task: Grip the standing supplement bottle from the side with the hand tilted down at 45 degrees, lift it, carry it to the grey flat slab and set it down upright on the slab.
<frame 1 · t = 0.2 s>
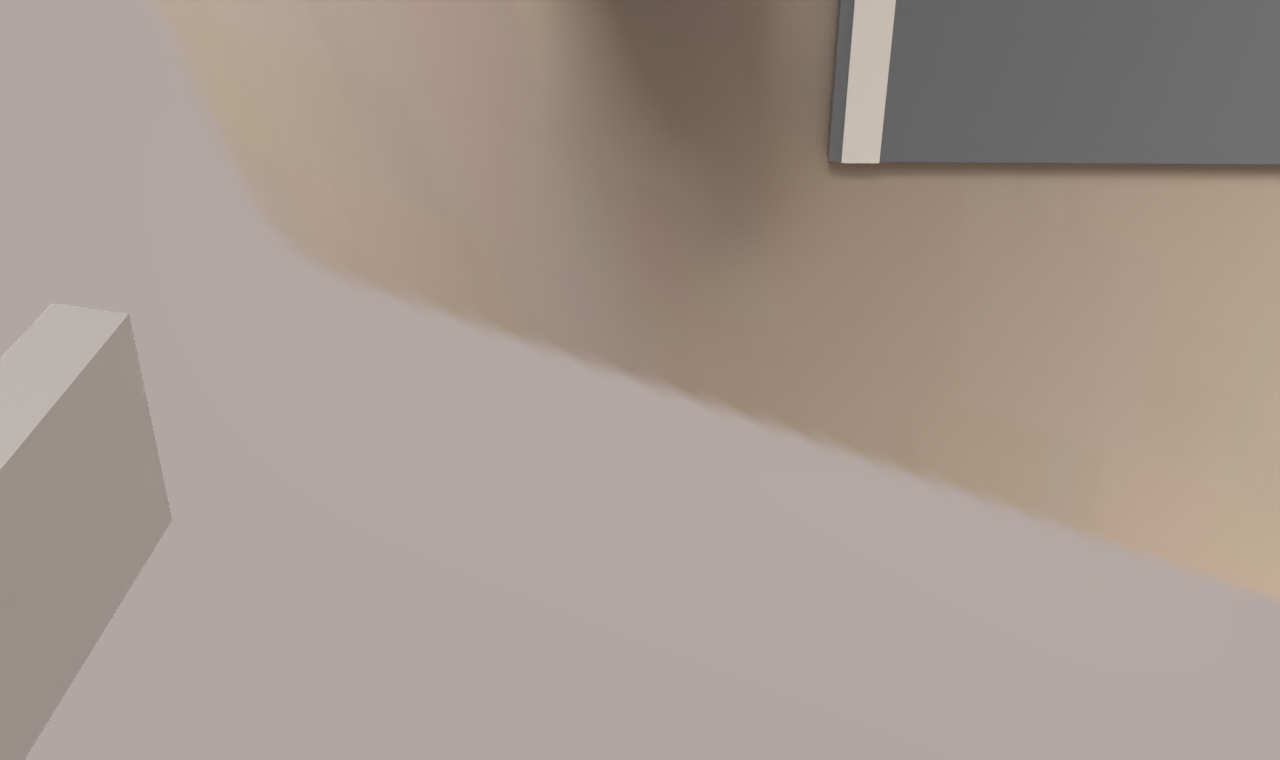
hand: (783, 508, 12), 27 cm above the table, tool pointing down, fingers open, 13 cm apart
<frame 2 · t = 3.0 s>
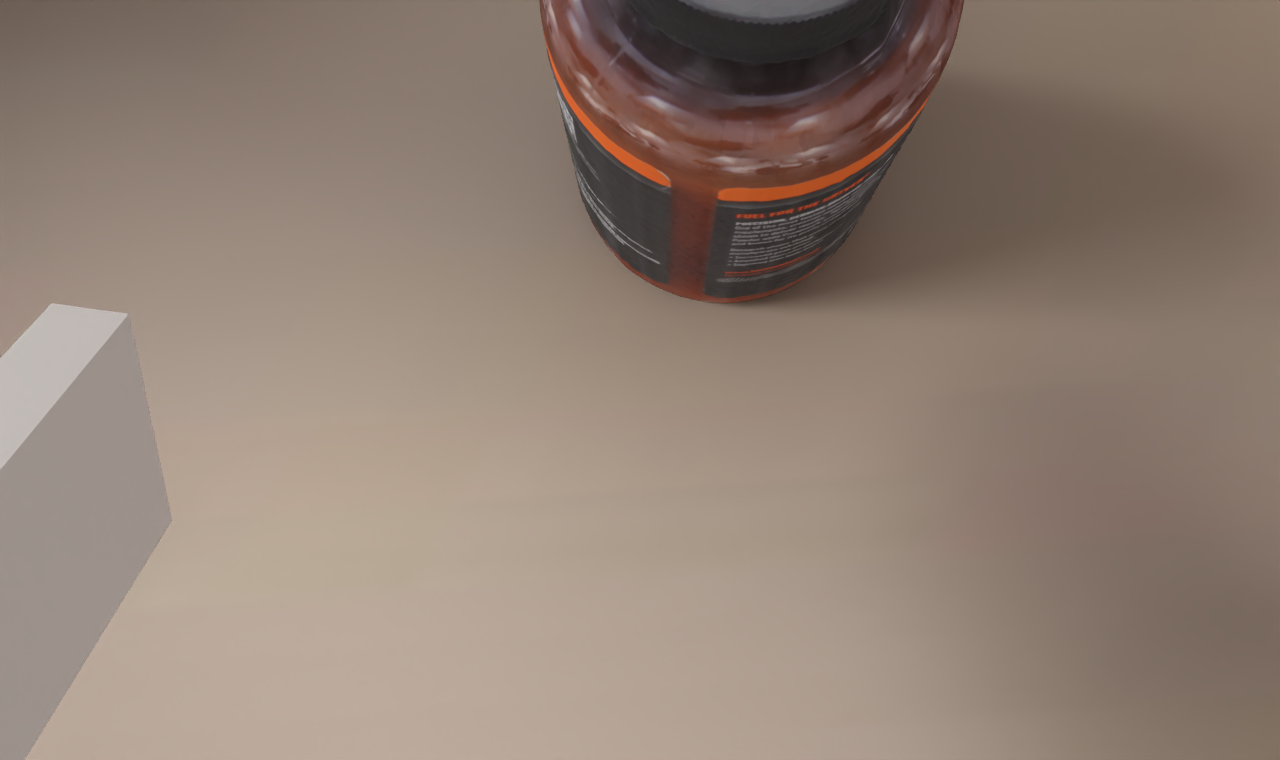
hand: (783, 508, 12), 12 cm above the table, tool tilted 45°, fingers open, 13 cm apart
supplement bottle: (719, 171, 25), on the table
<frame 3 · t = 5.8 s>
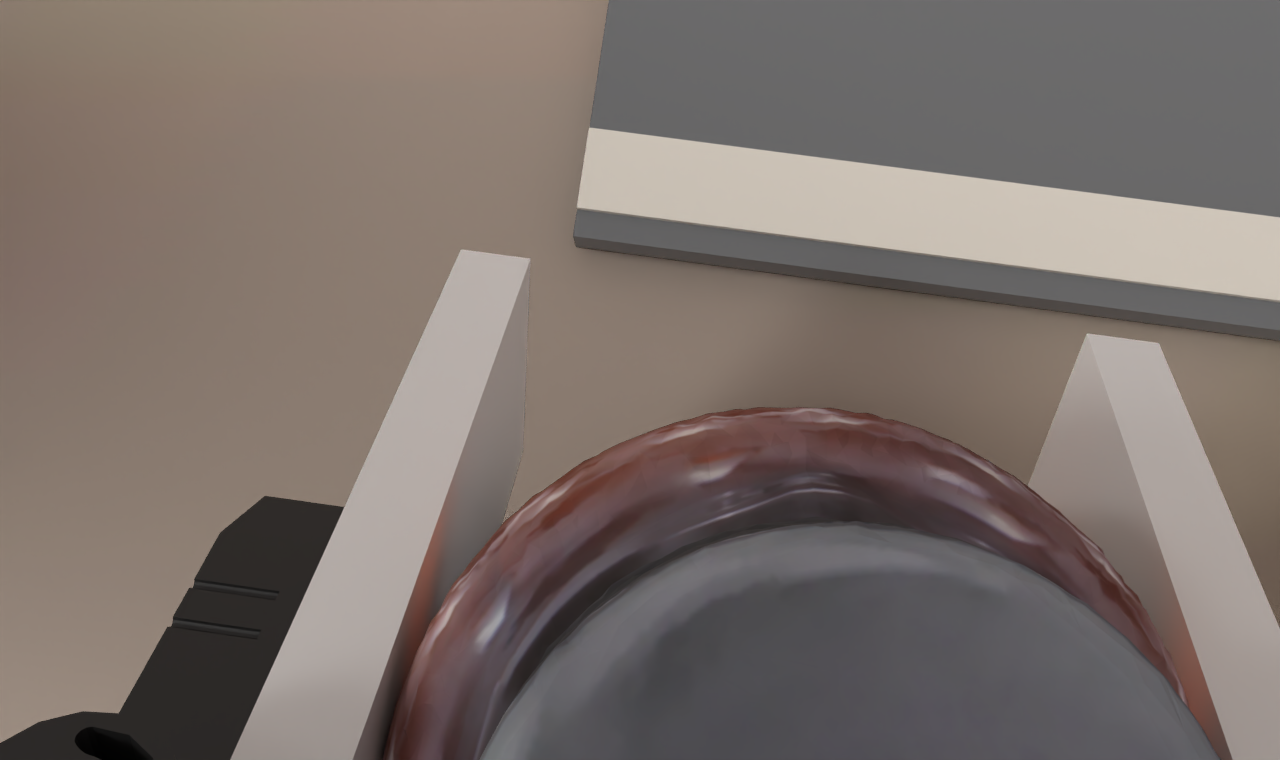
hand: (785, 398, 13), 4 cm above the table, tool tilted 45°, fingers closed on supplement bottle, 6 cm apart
supplement bottle: (723, 685, 17), on the table, touching gripper
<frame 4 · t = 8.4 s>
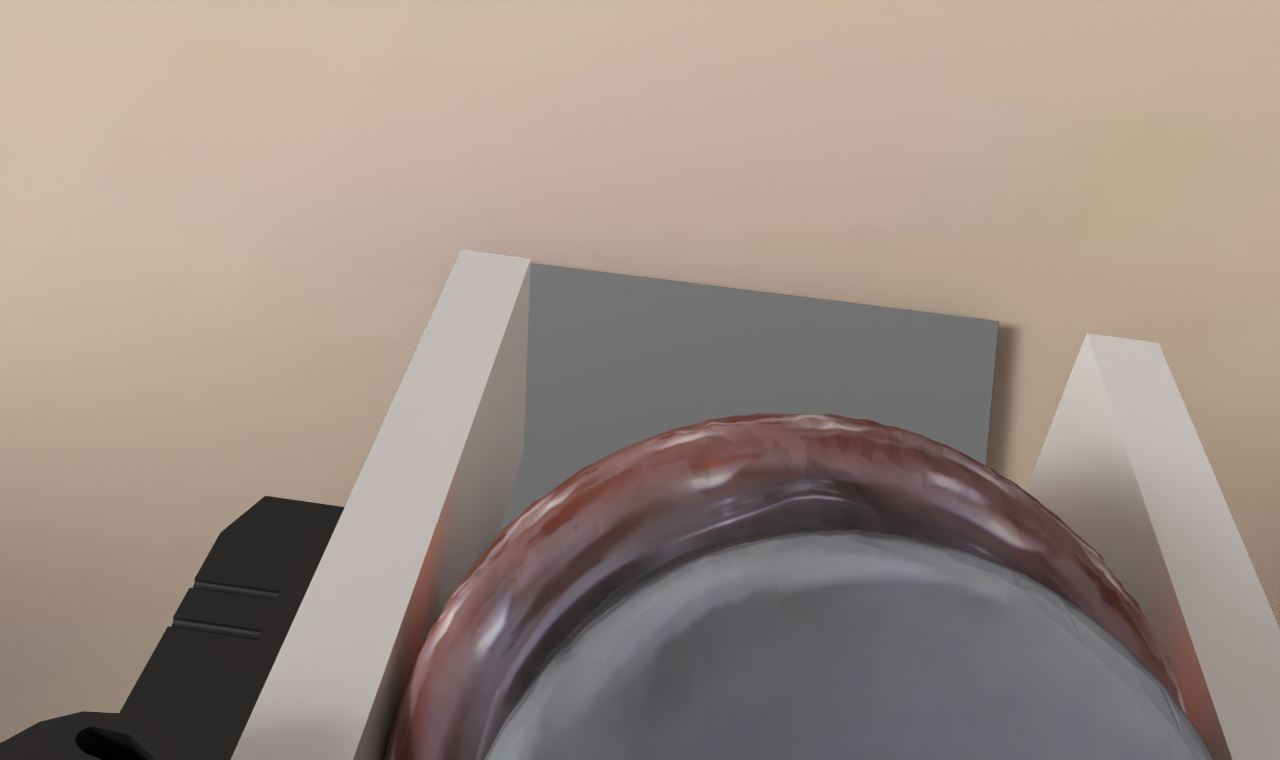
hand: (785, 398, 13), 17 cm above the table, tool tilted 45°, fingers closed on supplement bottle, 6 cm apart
supplement bottle: (723, 688, 17), point 13 cm above the table, touching gripper
grey flat slab: (689, 598, 30), on the table
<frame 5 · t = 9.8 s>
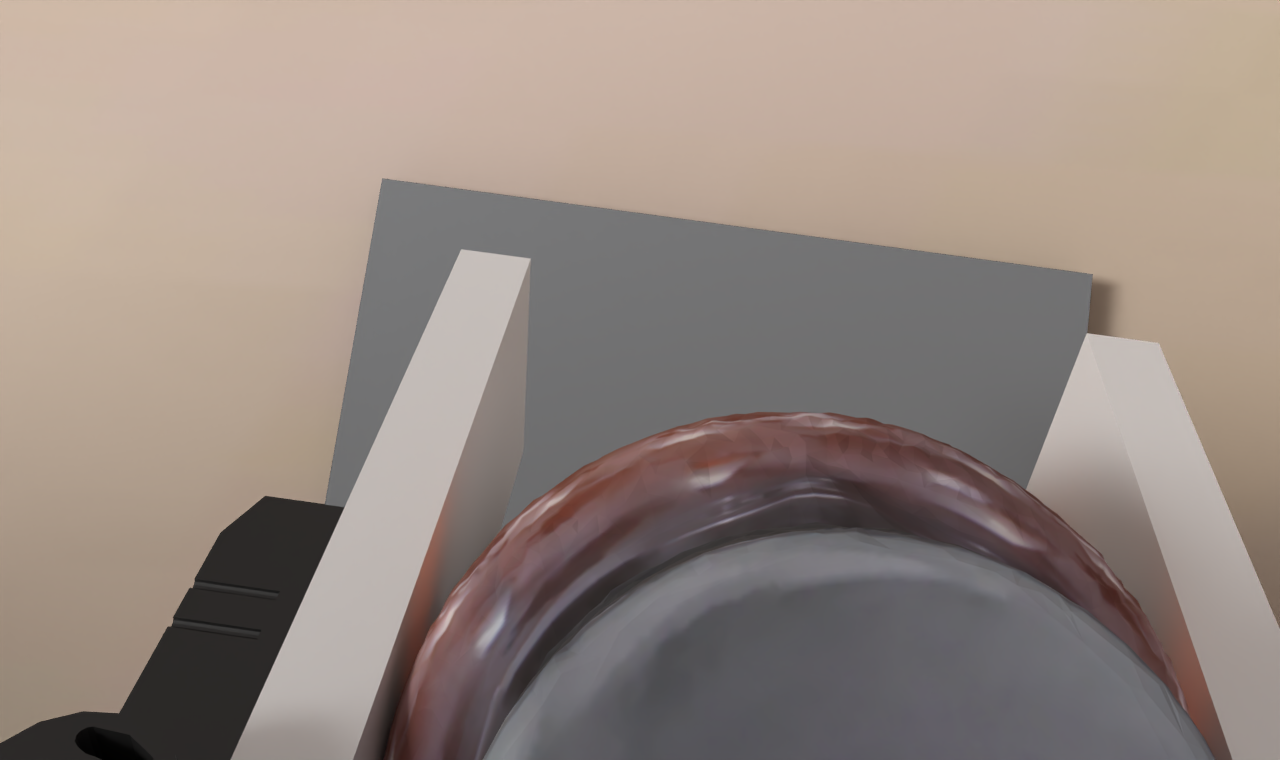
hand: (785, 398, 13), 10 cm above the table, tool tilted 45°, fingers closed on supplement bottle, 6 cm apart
supplement bottle: (723, 687, 17), point 6 cm above the table, touching gripper
grey flat slab: (678, 636, 23), on the table
when the fingers open (6 cm above the table, at t = 10.9 s): supplement bottle drops 1 cm, resting on grey flat slab.
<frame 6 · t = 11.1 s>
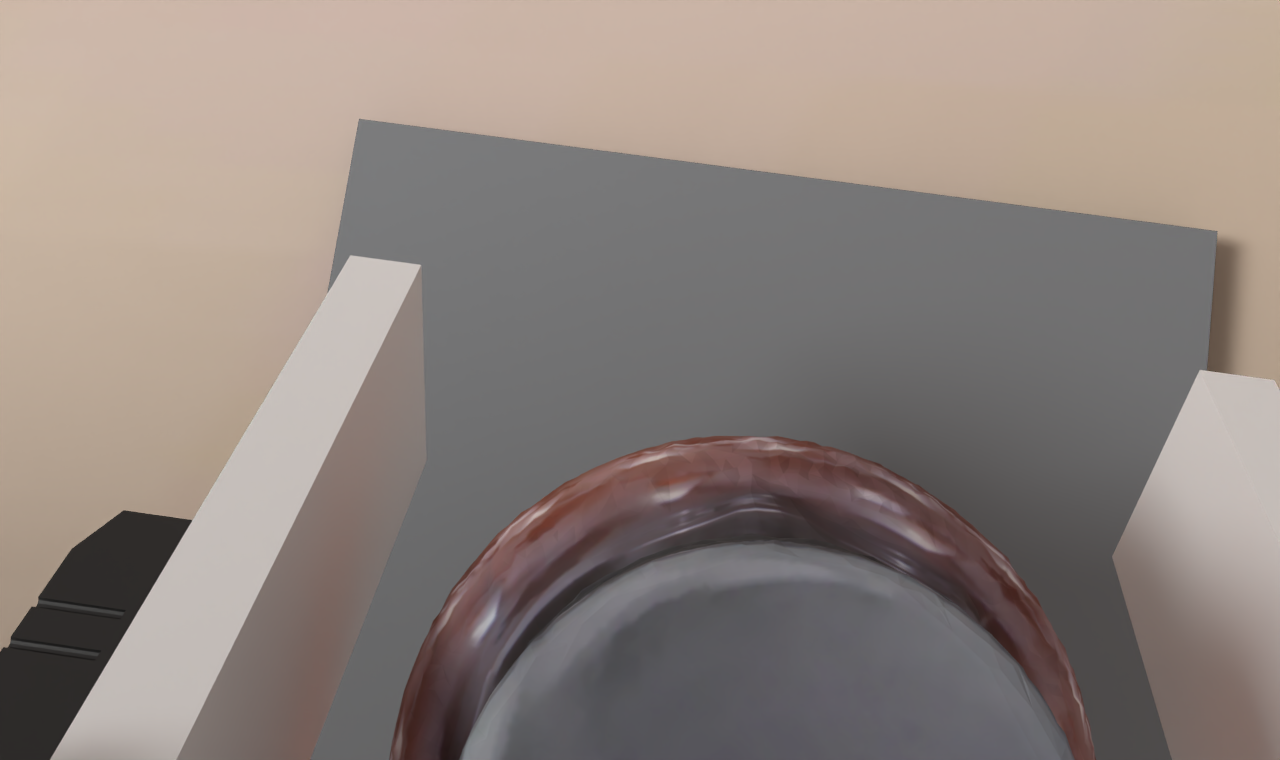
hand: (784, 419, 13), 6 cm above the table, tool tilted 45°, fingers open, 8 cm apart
supplement bottle: (705, 677, 18), resting on grey flat slab
grey flat slab: (716, 671, 19), on the table
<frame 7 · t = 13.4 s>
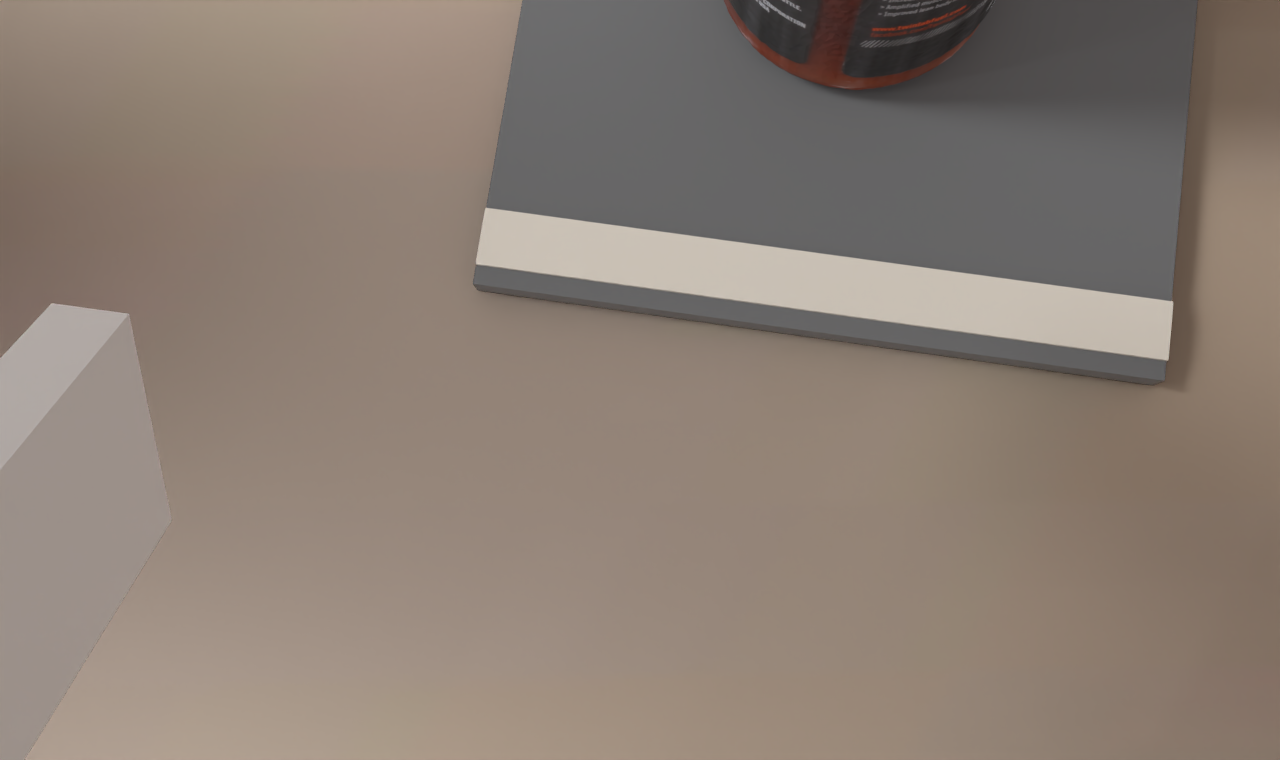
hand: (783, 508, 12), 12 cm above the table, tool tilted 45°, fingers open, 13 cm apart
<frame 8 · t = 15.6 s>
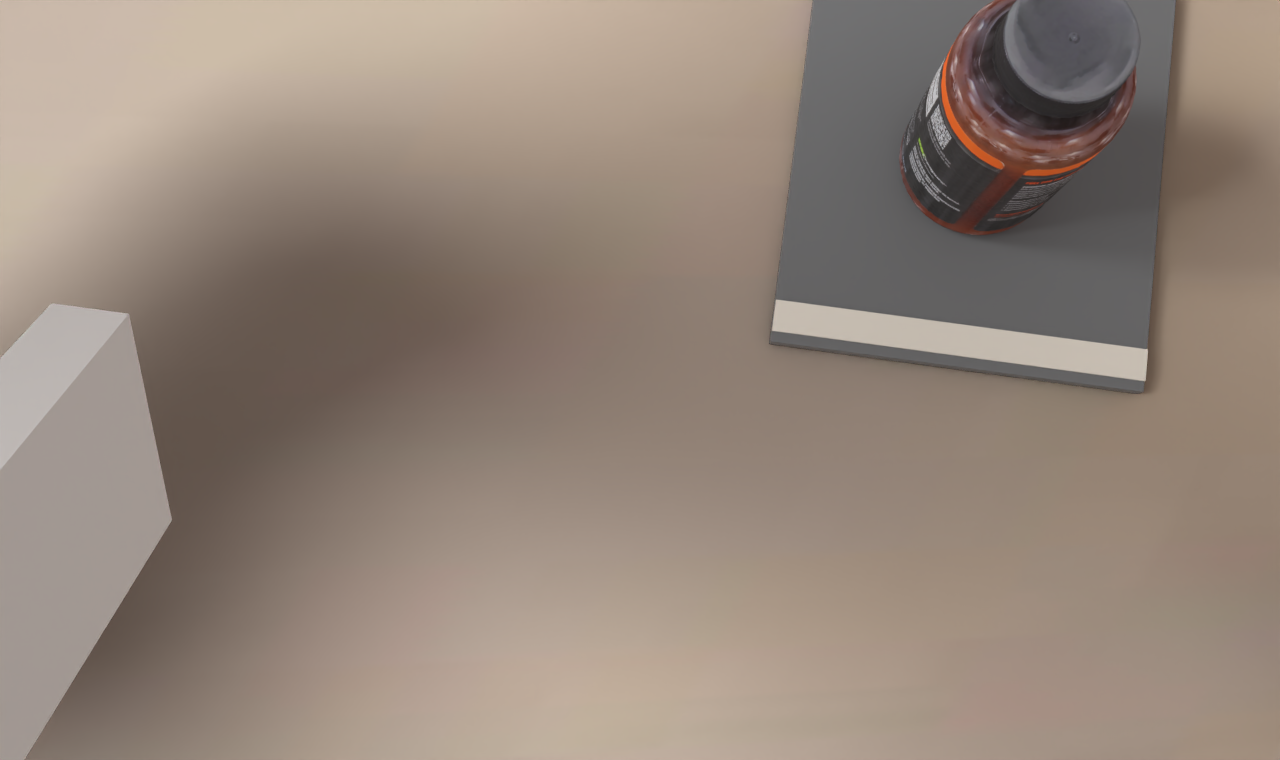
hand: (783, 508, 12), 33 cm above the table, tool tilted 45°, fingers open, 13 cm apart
supplement bottle: (971, 165, 46), resting on grey flat slab
grey flat slab: (973, 167, 46), on the table
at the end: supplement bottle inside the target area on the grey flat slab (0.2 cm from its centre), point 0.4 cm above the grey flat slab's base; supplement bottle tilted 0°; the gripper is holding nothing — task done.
